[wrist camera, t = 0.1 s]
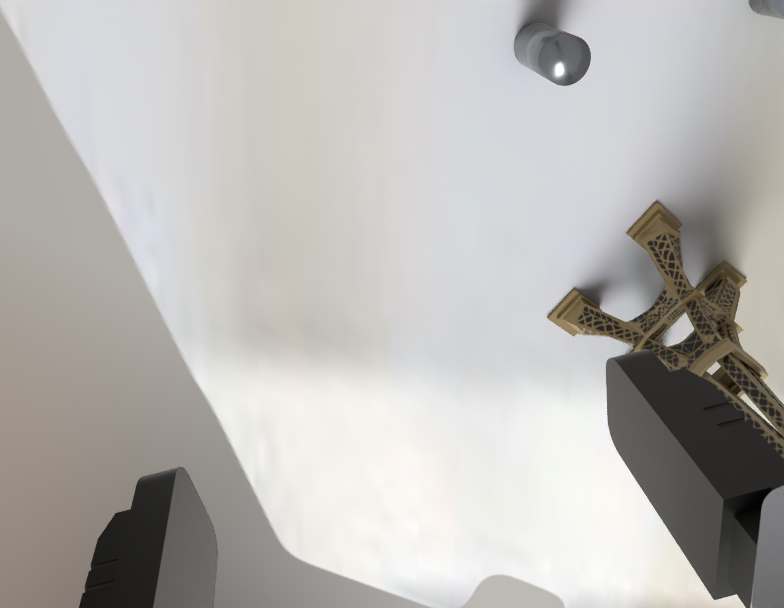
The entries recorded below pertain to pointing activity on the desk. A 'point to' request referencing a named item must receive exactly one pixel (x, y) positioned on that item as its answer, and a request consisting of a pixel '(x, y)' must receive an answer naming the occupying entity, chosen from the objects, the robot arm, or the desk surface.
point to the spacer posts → (581, 47)
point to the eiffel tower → (707, 314)
